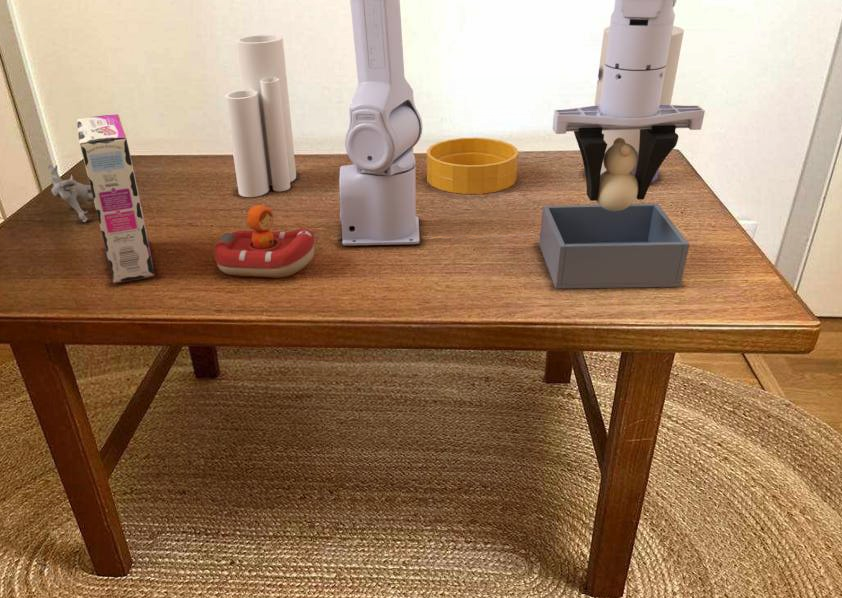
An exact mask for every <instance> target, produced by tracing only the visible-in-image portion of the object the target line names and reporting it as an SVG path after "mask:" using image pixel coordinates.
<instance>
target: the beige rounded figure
mask: <svg viewBox="0 0 842 598" xmlns="http://www.w3.org/2000/svg"><path fill="white" fill-rule="evenodd" d="M637 160H638V156H637V152H636V150H635V149H634V147H633V146H631V145H630V144H627V143H625V140H624V139H623V138H617V139H615V141H614V143H613V145H612V146H611V147H609V148H608V150H607V151H606V153H605V155H604V159H603V162H604V166H605V168H606V171H604V172H603V173H602V174H601V175H600V186H599V194H598V199H597V201H596V203H597V205H600V206H601V207H602V208H604V209H606V210H609V211H621V210H624V209H626V208H628V207H629V206H630V205H631V204H634V203H635V201H636V200H637V195H638V191H639V185H638V181H637V178H636V177H635V175H634V174H633V173H632V172H631V171H632V170H633V169H634V168H635V166H636V164H637Z"/></svg>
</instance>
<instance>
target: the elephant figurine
mask: <svg viewBox="0 0 842 598" xmlns="http://www.w3.org/2000/svg"><path fill="white" fill-rule="evenodd" d="M47 170H48V171H49V174H50V176H49V181H50V183H51V184H52V185H53V186H52V188H51V189H50V191H51V194H52V195H53V196H54V197H55V198H61V199H62V200H63V202H65V203H67V204H69V206H70V207H71V208H72V209H74V210H75V212H76V213H77V214H78V218H79V219H80V220H81V221H82V222H83V223H86V222H88V217H87V216H86V214H88V213H89V211H88V210H86V211H84V210H83V209H82V208H81V205H84V204H85V203H87V202H94V199H93V195H92V191H91V187H90V184H83V183H81V182H77V181H76V180H75V179H74V176H73V175H72V174H70V178H69V179H65V180H63V179H62V178H61V176H60V175H59V173H58V165H55V166H54V167H53V165H52V163H49V164H48V165H47Z"/></svg>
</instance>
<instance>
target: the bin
mask: <svg viewBox="0 0 842 598" xmlns="http://www.w3.org/2000/svg"><path fill="white" fill-rule="evenodd" d="M539 231H540V233H539V242H538V245H539V248H540V250H541V253H542V256H543V260H544V261H545V264H546V267H547V270H548V273H549V275H550V277H551V280H552V283H553V286H554V288H555V289H556V290H561V289H563V290H564V289H566V290H567V289H617V288H618V289H622V288H623V289H624V288H630V289H631V288H676V287H677V288H680V287H681V286H682V280H683V277H684V271H685V269H686V268H685V267H686V262H687V259H688V258H687V257H688V253H689V250H690V246H691V245H690V242H688V240H687V239H686V238H685V236H684V235H683V233H682V232H681V231H680V230H679V228H678V227H677V226H676V225H675V224H674V222H673V221H672V220H671V218H670V217H669V216H668V215H667V214H666V212H665V211H664V210H663V208H662V207H661V206H660V205H659V203H632V204H631V205H630V206H629V207H628V208H626V209H624V210H621V211H609V210H606V209H604V208H602V207H601V206H600V205H599V204H574V205H572V204H571V205H543V206H542V212H541V222H540V230H539Z"/></svg>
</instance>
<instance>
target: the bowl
mask: <svg viewBox="0 0 842 598" xmlns="http://www.w3.org/2000/svg"><path fill="white" fill-rule="evenodd" d="M519 154H520V153H519V150H518V148H517V147H516V146H515V145H513V144H512V143H509V142H506V141H503V140H500V139H493V138H486V137H459V138H452V139H446V140H443V141H438V142H436V143H434V144H432V145H430V146H429V147H428V148H427V150H426V182H427V183H428V184H429V185H430V186H431V187H433V188H435V189H438V190H440V191H443V192H448V193H452V194H460V195H461V194H462V195H482V194H490V193H496V192H497V193H498V192H499V191H504V190H506V189H508V188H510V187H512V186H513V185H515V183H516V181H517V180H518V168H519V167H518V166H519Z"/></svg>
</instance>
